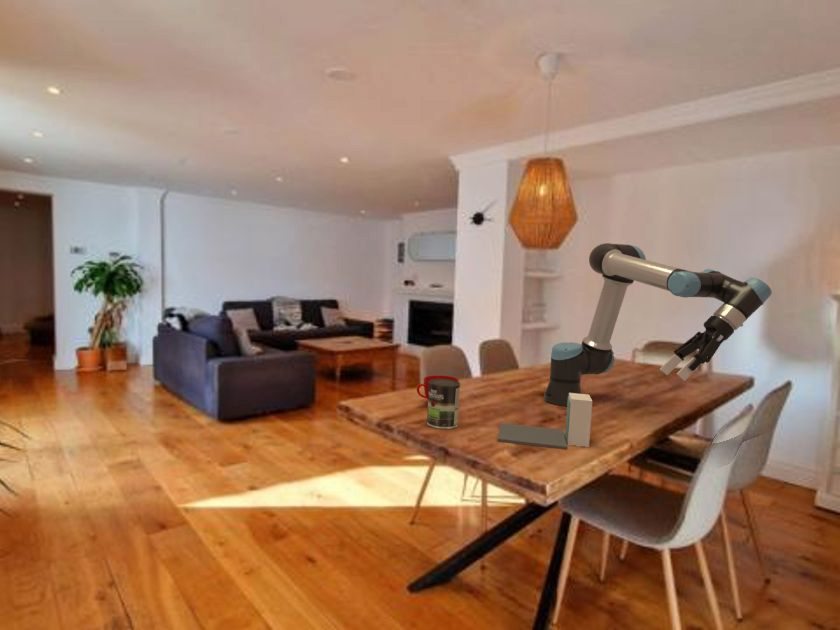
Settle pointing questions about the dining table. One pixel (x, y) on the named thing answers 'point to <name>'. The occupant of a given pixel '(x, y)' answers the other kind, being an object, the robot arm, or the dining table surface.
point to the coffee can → (443, 403)
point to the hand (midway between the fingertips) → (671, 374)
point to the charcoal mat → (532, 436)
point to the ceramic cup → (426, 383)
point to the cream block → (578, 419)
